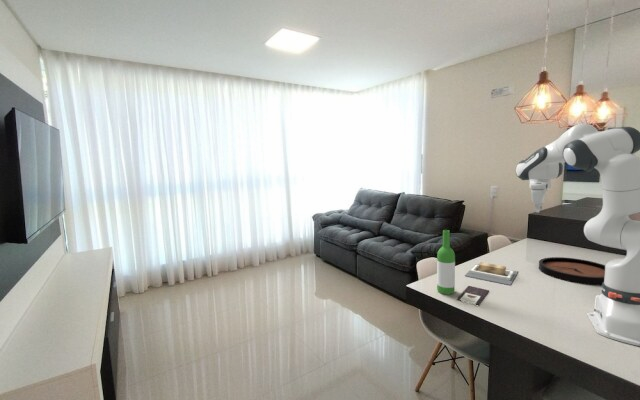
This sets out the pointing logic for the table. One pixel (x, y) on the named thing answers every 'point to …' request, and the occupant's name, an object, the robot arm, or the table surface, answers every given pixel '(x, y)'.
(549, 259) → the wall clock
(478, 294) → the chocolate bar
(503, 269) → the tan wooden bar
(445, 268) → the wine bottle
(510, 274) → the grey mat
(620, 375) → the table surface
